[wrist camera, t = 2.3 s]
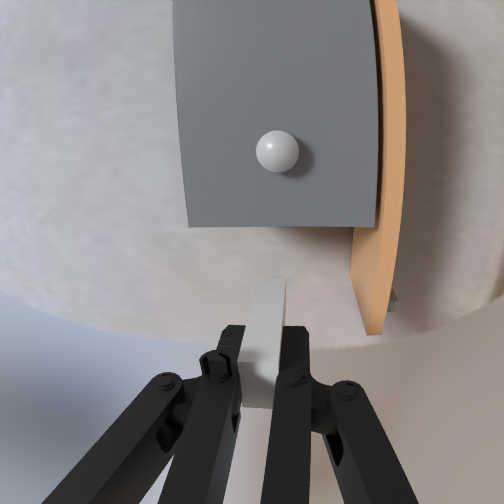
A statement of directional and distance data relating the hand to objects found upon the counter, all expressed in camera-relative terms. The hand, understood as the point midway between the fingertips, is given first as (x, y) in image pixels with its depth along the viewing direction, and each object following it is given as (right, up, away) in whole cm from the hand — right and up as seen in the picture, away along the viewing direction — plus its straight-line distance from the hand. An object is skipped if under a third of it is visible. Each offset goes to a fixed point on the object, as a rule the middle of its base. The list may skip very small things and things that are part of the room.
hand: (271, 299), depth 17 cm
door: (+7, +11, +3) cm, 14 cm away
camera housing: (+1, +14, +3) cm, 15 cm away
